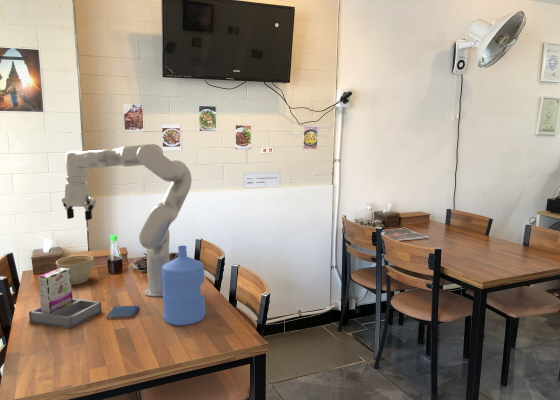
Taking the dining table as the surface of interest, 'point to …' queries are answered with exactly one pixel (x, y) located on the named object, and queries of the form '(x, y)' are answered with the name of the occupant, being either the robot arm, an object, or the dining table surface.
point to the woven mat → (123, 312)
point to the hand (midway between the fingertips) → (79, 218)
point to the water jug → (183, 290)
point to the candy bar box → (55, 290)
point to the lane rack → (67, 314)
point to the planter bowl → (77, 267)
